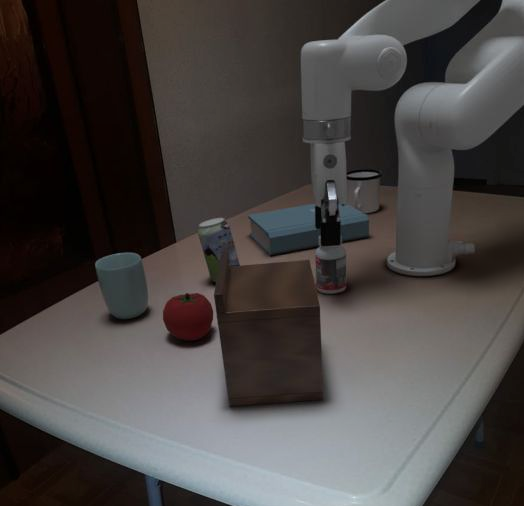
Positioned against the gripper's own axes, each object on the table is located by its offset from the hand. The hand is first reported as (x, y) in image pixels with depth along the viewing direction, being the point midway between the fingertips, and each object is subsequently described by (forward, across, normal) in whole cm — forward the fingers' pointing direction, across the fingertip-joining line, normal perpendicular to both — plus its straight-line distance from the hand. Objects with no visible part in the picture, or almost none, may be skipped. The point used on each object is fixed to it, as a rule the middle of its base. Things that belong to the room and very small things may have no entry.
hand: (327, 236), depth 95 cm
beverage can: (+10, +8, +19) cm, 23 cm away
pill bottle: (+10, 0, -1) cm, 10 cm away
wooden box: (+10, -27, +10) cm, 30 cm away
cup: (+11, -4, +35) cm, 37 cm away
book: (+10, +30, +1) cm, 32 cm away
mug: (+9, +47, -14) cm, 50 cm away
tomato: (+11, -14, +23) cm, 29 cm away
